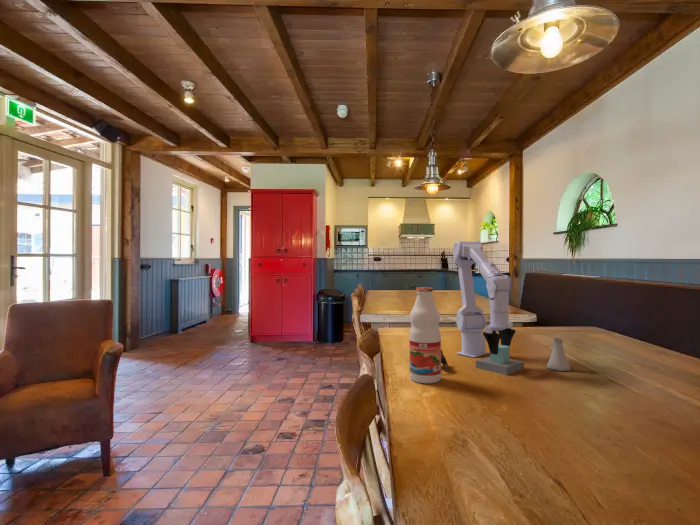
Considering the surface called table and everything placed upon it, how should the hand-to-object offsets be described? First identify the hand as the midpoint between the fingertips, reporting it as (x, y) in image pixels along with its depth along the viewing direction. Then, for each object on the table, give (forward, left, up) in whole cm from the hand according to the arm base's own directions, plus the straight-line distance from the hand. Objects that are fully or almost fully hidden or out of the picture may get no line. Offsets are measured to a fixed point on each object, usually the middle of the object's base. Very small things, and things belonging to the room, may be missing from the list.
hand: (499, 352), depth 125 cm
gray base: (0, 0, -6) cm, 6 cm away
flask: (-14, +13, -6) cm, 20 cm away
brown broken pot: (+16, -14, -6) cm, 23 cm away
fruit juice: (+28, -9, -6) cm, 30 cm away
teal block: (0, 0, -3) cm, 3 cm away
